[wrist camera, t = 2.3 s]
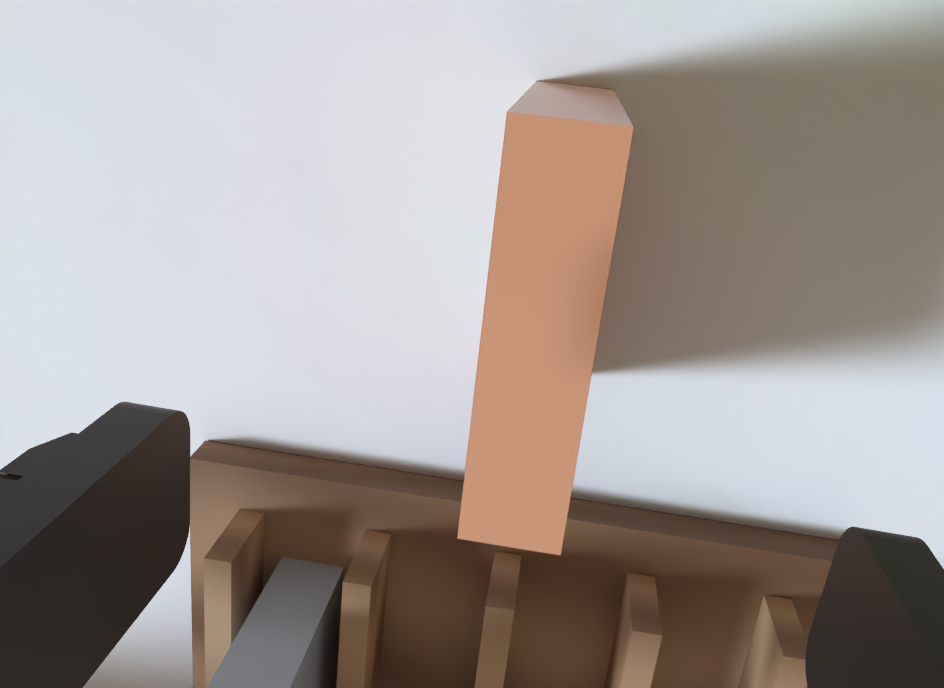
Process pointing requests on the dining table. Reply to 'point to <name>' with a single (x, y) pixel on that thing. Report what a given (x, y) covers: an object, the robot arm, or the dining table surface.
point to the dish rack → (498, 583)
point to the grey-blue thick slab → (288, 631)
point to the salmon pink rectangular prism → (542, 311)
